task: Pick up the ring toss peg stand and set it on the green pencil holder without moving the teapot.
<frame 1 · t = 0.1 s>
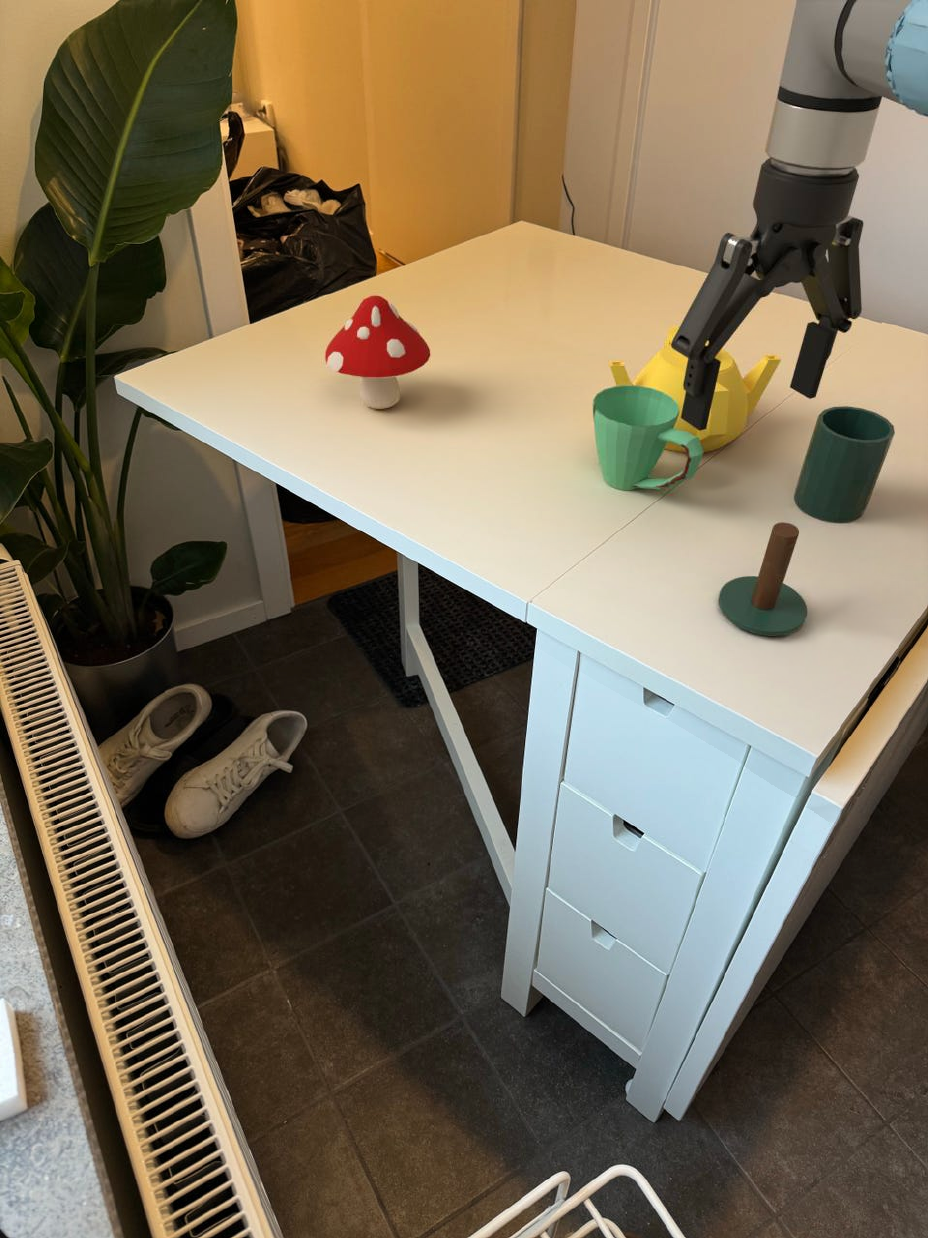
hand: (749, 407, 84), 18 cm above the table, tool pointing down, fingers open, 13 cm apart
mug: (638, 489, 107), on the table
decorative mushroom: (379, 406, 121), on the table
green pencil holder: (828, 503, 105), on the table
ring toss peg stand: (761, 607, 90), point 1 cm above the table
teapot: (682, 429, 118), on the table
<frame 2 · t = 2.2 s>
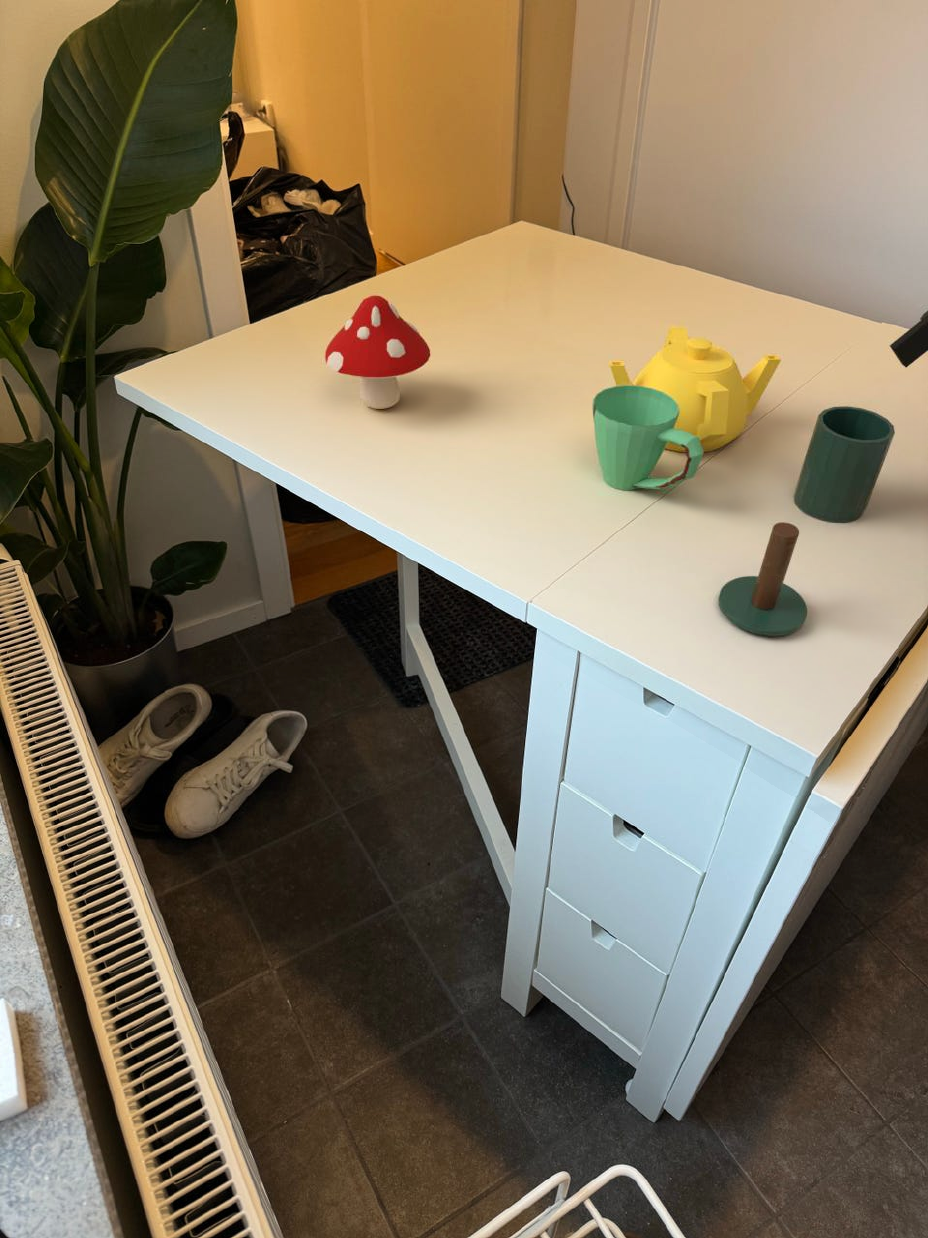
nothing on the table moved.
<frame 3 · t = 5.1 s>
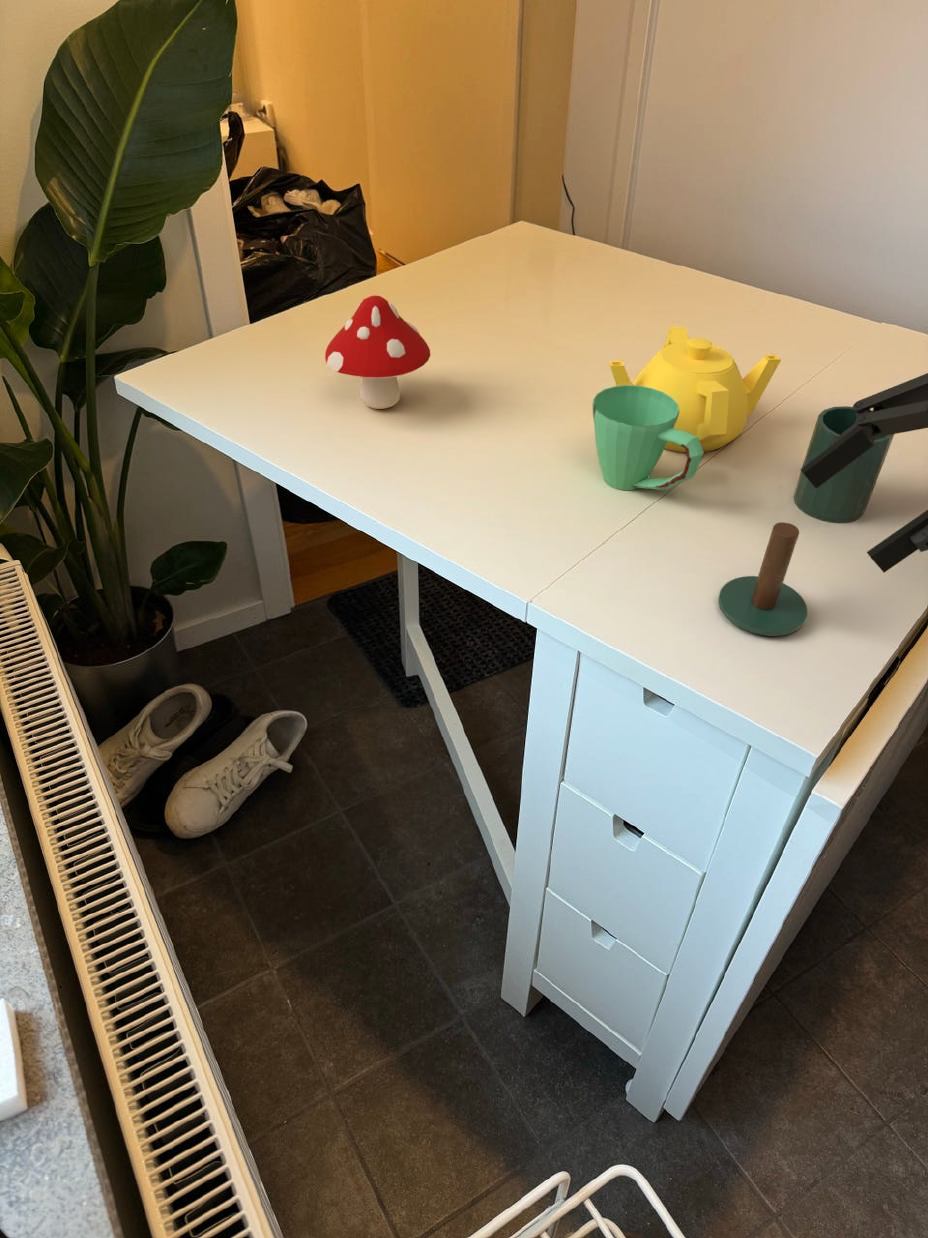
hand: (839, 518, 84), 11 cm above the table, tool tilted 45°, fingers open, 13 cm apart
nothing on the table moved.
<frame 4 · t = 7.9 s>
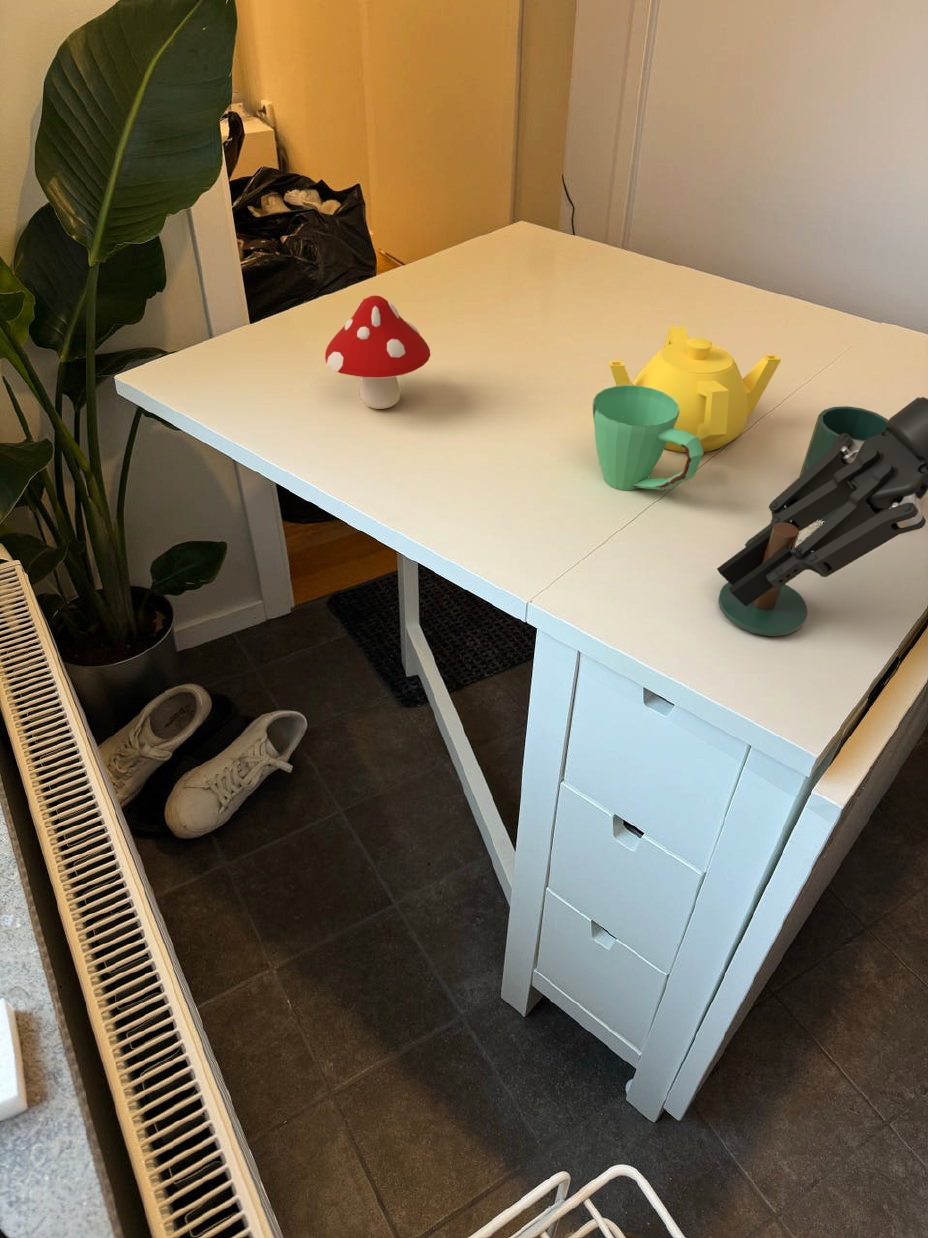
hand: (731, 587, 87), 4 cm above the table, tool tilted 45°, fingers closed on ring toss peg stand, 2 cm apart
ring toss peg stand: (761, 607, 90), point 1 cm above the table, touching gripper
everything else where it was.
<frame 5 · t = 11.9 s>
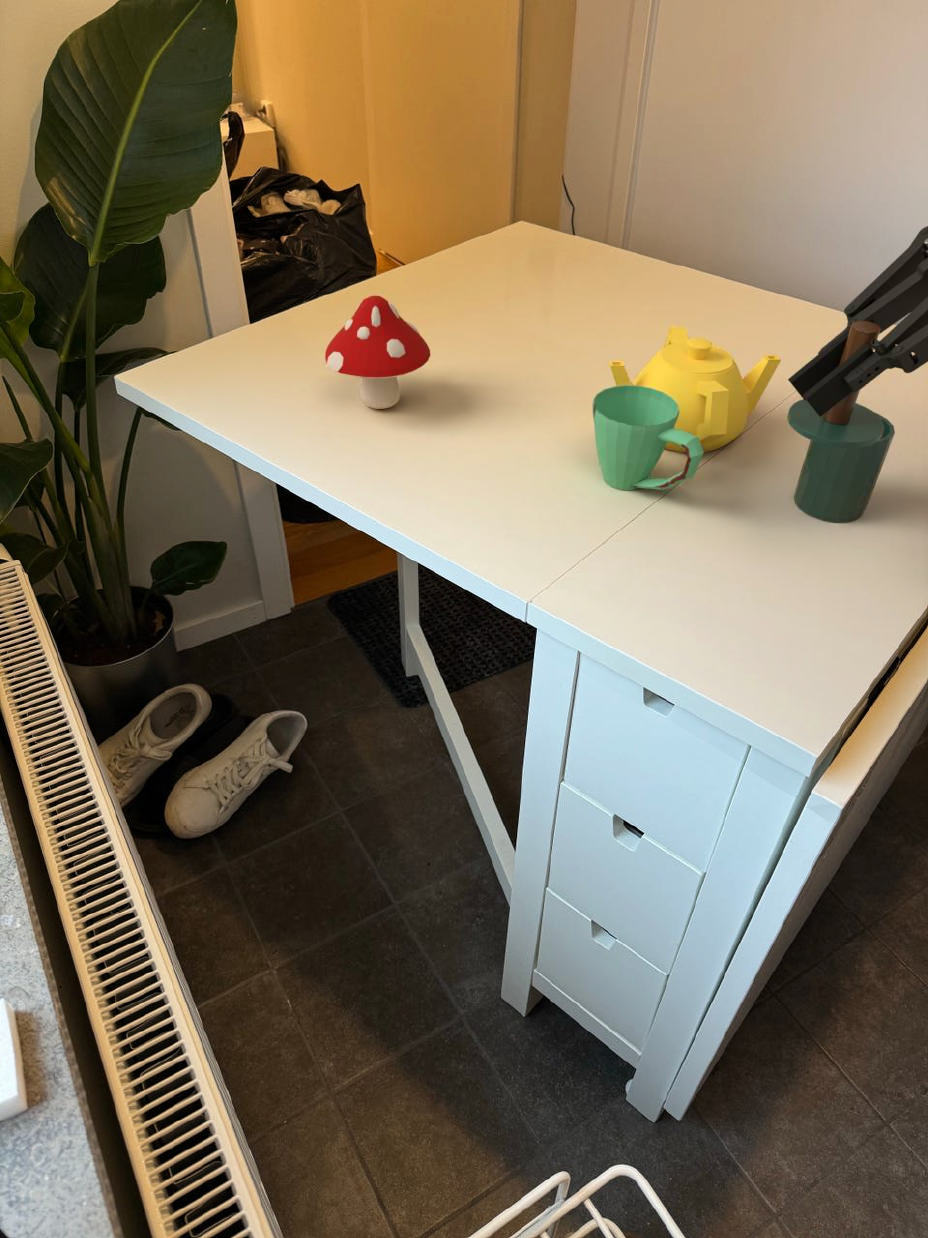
hand: (804, 397, 81), 20 cm above the table, tool tilted 45°, fingers closed on ring toss peg stand, 2 cm apart
ring toss peg stand: (834, 424, 84), point 17 cm above the table, touching gripper
everything else where it was.
when the fingers open (13 cm above the table, at t = 15.8 s): ring toss peg stand stays where it is, resting on green pencil holder.
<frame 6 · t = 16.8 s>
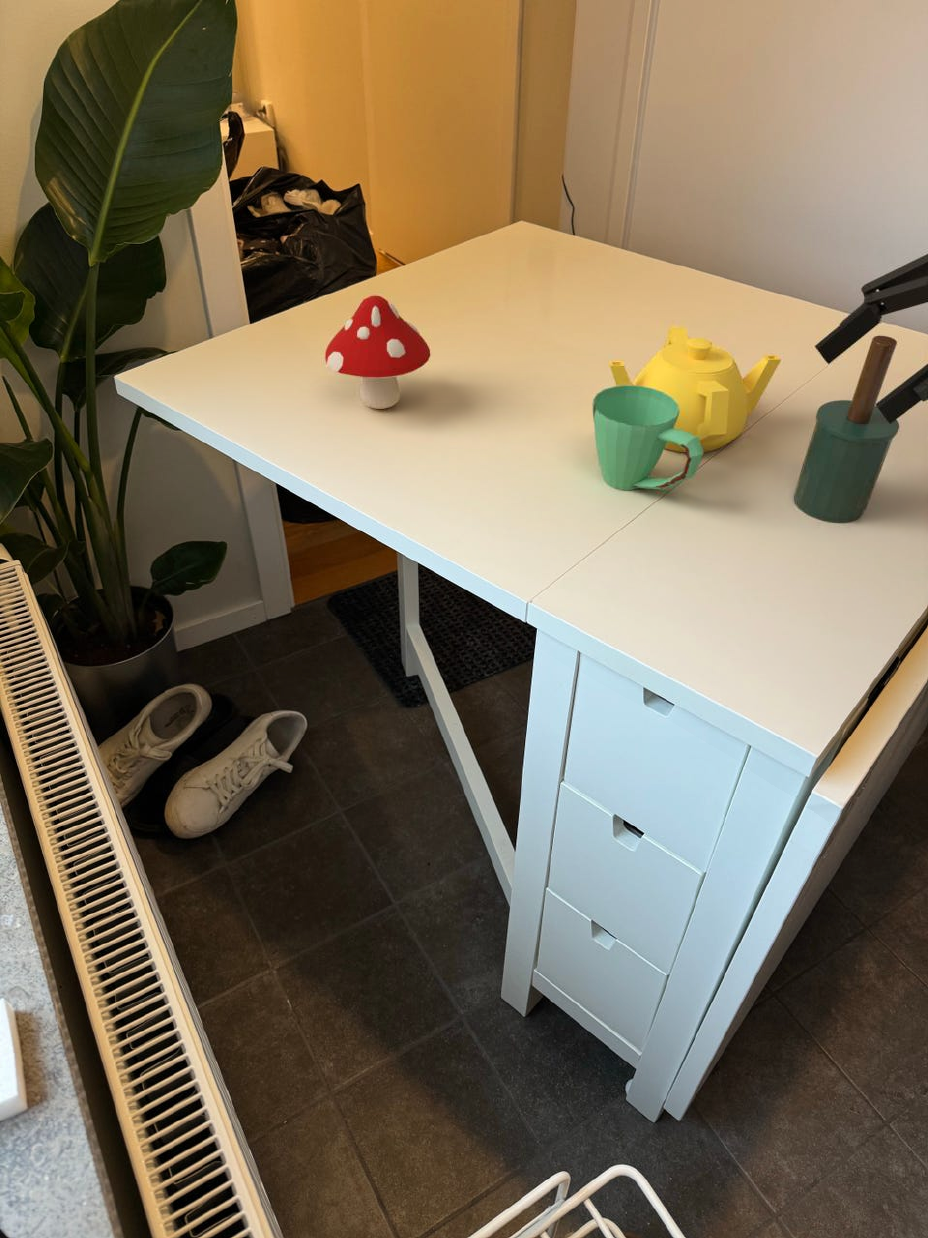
hand: (850, 383, 95), 15 cm above the table, tool tilted 45°, fingers open, 13 cm apart
ring toss peg stand: (856, 423, 98), point 10 cm above the table, touching green pencil holder
everything else where it was.
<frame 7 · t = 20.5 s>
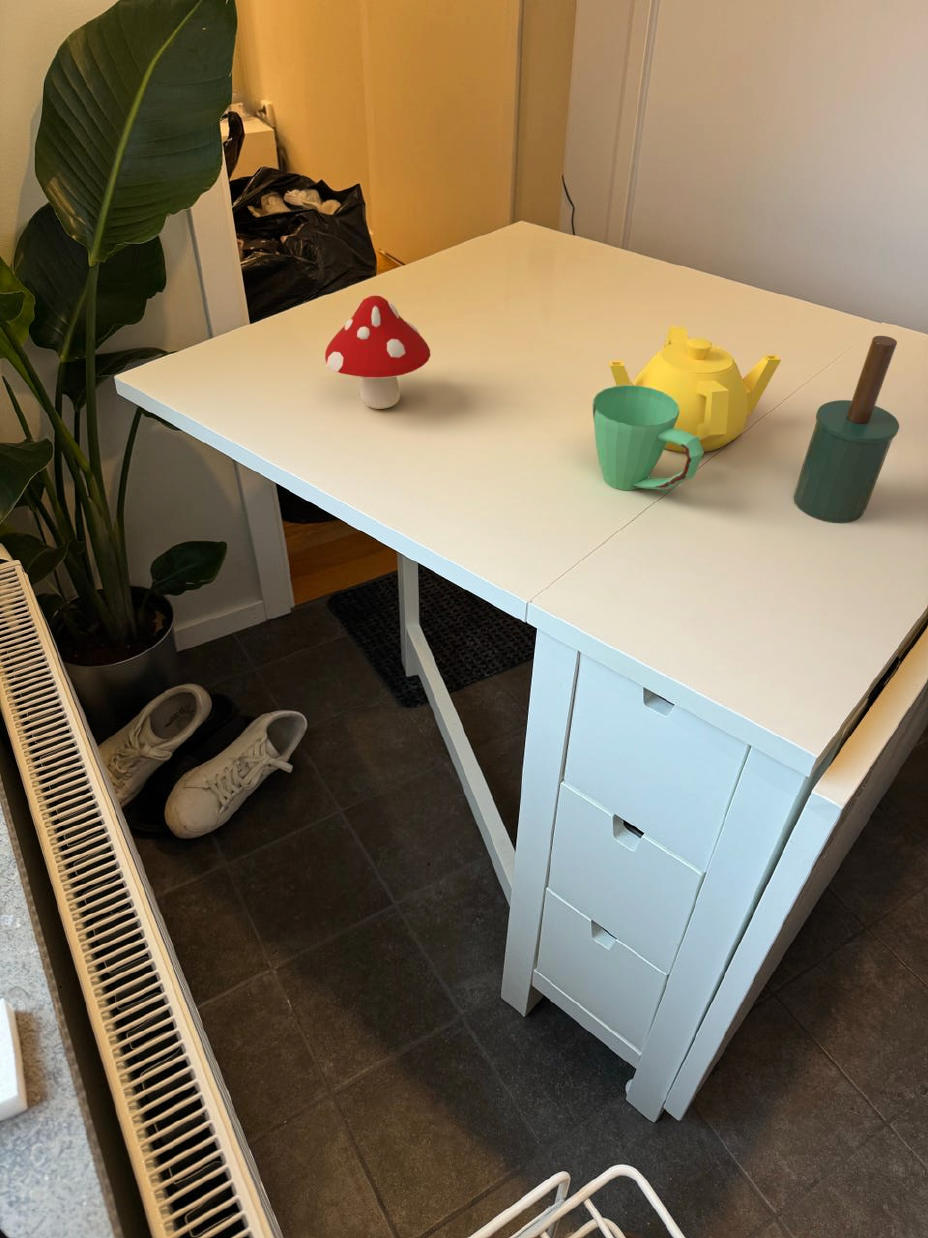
nothing on the table moved.
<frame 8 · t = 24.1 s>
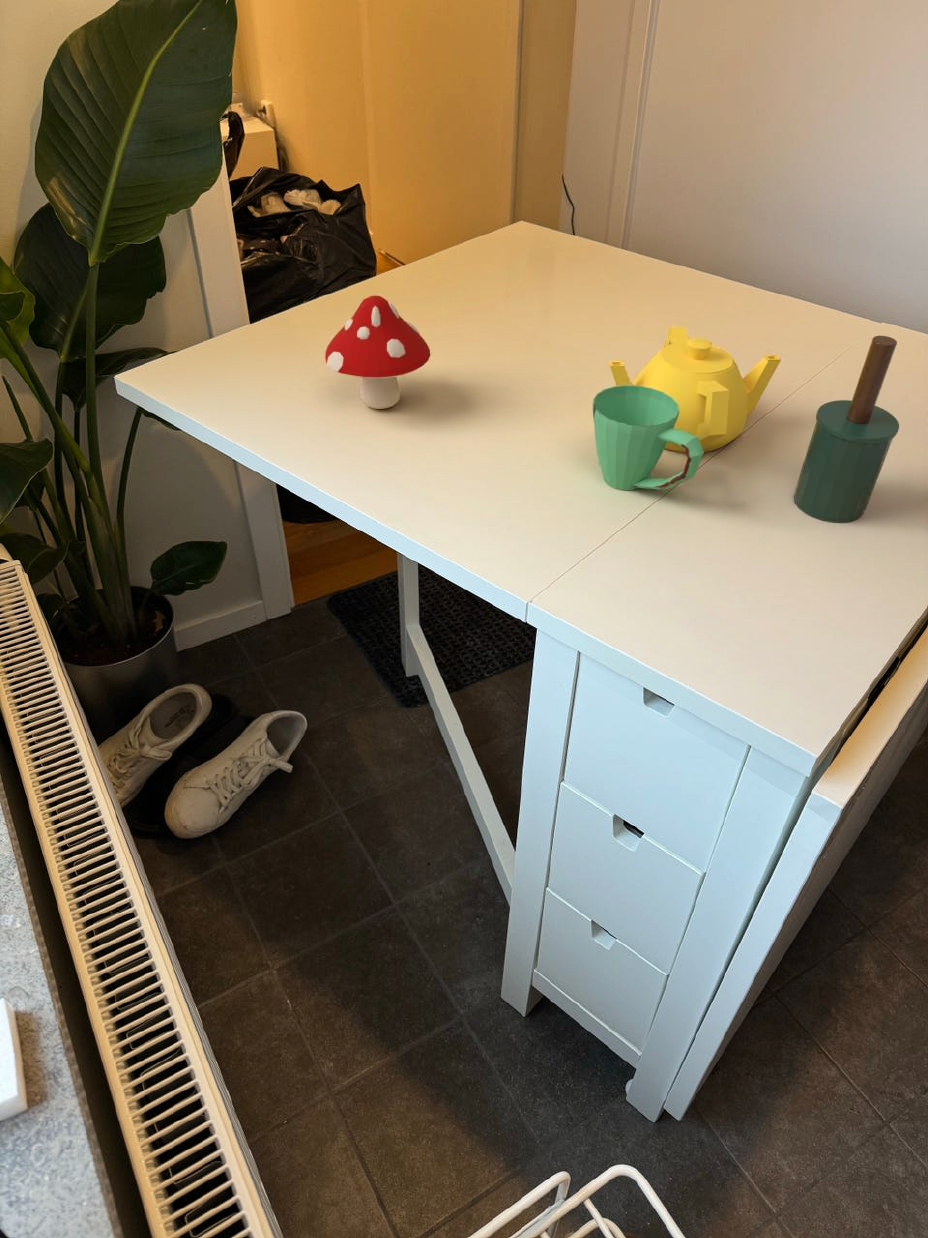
nothing on the table moved.
at the end: ring toss peg stand 0.0 cm off-centre on the green pencil holder, point 10.5 cm above the green pencil holder's base; ring toss peg stand tilted 0°; teapot moved 0.2 cm from its start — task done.
